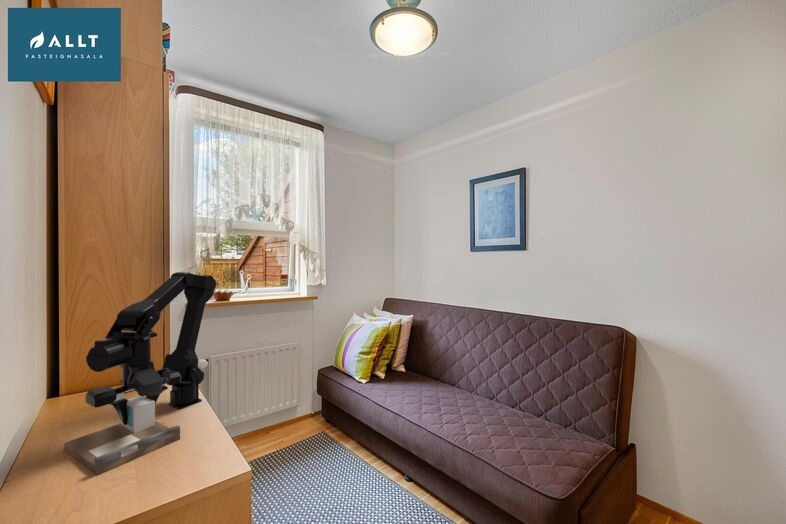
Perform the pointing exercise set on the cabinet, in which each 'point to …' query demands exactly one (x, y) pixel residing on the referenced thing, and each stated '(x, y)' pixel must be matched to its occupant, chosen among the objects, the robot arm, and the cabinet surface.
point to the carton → (140, 413)
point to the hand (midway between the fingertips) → (137, 420)
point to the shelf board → (119, 445)
